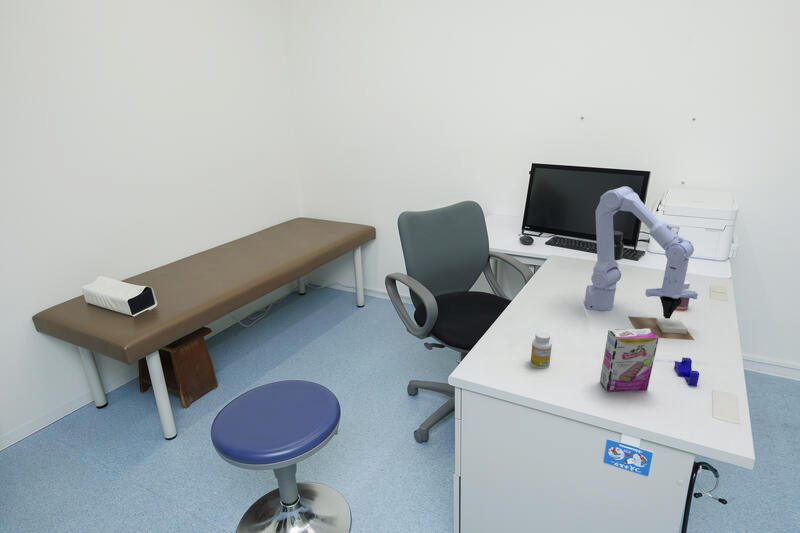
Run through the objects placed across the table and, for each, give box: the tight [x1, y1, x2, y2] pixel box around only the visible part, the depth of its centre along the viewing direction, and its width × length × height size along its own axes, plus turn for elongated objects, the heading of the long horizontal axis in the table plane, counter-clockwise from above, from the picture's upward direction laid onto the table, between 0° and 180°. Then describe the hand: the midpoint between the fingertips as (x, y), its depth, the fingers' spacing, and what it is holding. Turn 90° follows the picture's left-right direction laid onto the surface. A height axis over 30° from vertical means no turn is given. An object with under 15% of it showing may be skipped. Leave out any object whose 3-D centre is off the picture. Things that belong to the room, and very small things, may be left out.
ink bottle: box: [613, 230, 625, 261], centre depth 215 cm, size 10×9×12 cm
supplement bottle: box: [530, 331, 553, 369], centre depth 133 cm, size 5×5×10 cm
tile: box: [655, 317, 688, 334], centre depth 150 cm, size 2×7×7 cm
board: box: [627, 316, 695, 341], centre depth 151 cm, size 16×14×1 cm
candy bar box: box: [599, 328, 660, 392], centre depth 121 cm, size 11×5×16 cm, turn 92°
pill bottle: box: [674, 279, 692, 312], centre depth 163 cm, size 6×6×11 cm
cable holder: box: [673, 356, 700, 387], centre depth 127 cm, size 8×4×4 cm, turn 165°
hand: (666, 317), depth 149 cm, fingers closed
